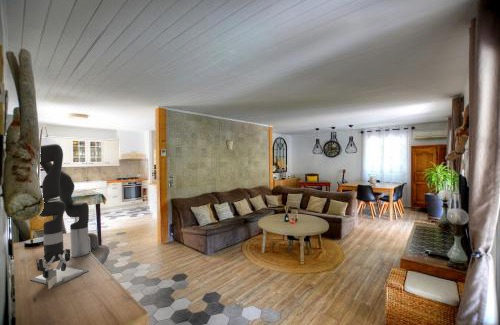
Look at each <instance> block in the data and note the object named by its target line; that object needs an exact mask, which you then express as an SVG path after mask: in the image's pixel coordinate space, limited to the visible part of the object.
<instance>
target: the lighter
mask: <svg viewBox="0 0 500 325" xmlns="http://www.w3.org/2000/svg"><path fill="white" fill-rule="evenodd" d="M63 262H64V261H61V260H60V261H59V262H58V263H57V266H56V268H54V267H51V268H50V267H49V268H48V275H49V277H48V278H46V281H48V280H51V279H52V278H53V277H55V276H57V274H56V270H60V268H61V266H62V264H63Z"/></svg>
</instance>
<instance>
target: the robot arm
mask: <svg viewBox="0 0 500 325" xmlns="http://www.w3.org/2000/svg"><path fill="white" fill-rule="evenodd" d="M40 146H41V162H40V163H39V165H40V166H41V168H42V169H43V170H44V172H45V174H46V175H45V176H44V178H43V181H42V186H41V187H42V188H41V189H42V190H41V191H42V192H41V194H42V193H43V198H44V202H45V203H44V209H43V211H42V213H41V214H40V215H39V216H40V217H42V218H46V217H53V216H56V217H55V218H53V219H50V220H47V221H45V222H44V223H43V237H42V238H43V239H42V240H43V253H44V255H43V257H41V258H36V259H35V260H36V269H37V271H38V272H42V274H43V277H44V278H48V277H49V275H48V269H50V267H51V265H53V263H56V262H58V261H59V262H60V260H61V261H64V262H63V264H62V266H61V271H65V269H66V266H67V262H70V260H71V257H72V258H79V257H83V256H86V255H88V254H90V253H91V251H92V250H91V237H90V236H89V220H90V216H89V215H90V208H89V207H90V206H89V204H88V202H75V201H73V198H72V196H73V193H74V191H75V183H74V181H73V179H72V177H71V176H70V175H69V174H67V172H65V171H63V170H62V167H63V161H64V151H63V148H62V147H61V145H60V144H57V143H53V144H45V145H40ZM52 162H53V163H52ZM57 198H59V200H57V201H50V200H53V199H57ZM65 213H66V216H67V217H70V218H78V221H75V222H73V223H71V224H70V228H69V229H70V230H69V231H70V249H69V248H65V249H64V234H63V219H64V218H63V217H64V214H65ZM89 251H90V252H89ZM63 255H64V256H63Z"/></svg>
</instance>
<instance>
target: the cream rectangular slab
mask: <svg viewBox="0 0 500 325" xmlns="http://www.w3.org/2000/svg"><path fill="white" fill-rule="evenodd" d="M56 282H57V276H55V277H53V278H52V279H51V280H49V281H48V285H47V286H48V289H49V290H50V289H52V287H54V286H53V285H54V284H55V283H56Z"/></svg>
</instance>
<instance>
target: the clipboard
mask: <svg viewBox="0 0 500 325" xmlns="http://www.w3.org/2000/svg"><path fill="white" fill-rule="evenodd" d="M89 271H90V270H88V269H83V268H78V267H74V266H68V265H66V269H65V271H61V268H60V270H56V274H57V282H56V283H55V284H54V285H53V287H54V288H55V287H58V286H60V285H63V284H64V283H67V282H68V281H70V280H71V281H72V280H73V279H76V278H78V277H79V276H81V275H85V274H86V273H89ZM31 280H32V281H31ZM29 281H31V282H35V283H40V284H43V283H44V284H45V285H47V286H48V281H49V280H48V281H46V278H44V277H43V273H41V274H40V275H37V276H34V277H32V278H30V279H29ZM44 284H43V285H44Z"/></svg>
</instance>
